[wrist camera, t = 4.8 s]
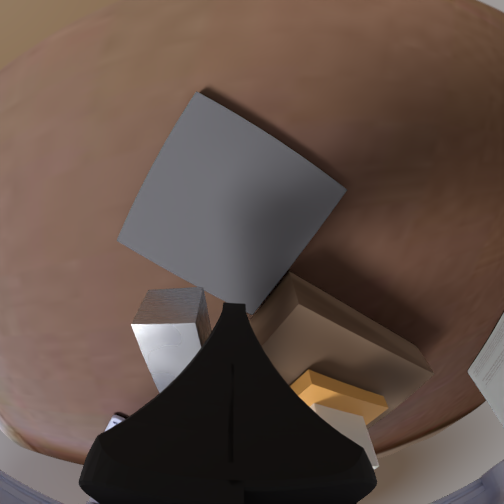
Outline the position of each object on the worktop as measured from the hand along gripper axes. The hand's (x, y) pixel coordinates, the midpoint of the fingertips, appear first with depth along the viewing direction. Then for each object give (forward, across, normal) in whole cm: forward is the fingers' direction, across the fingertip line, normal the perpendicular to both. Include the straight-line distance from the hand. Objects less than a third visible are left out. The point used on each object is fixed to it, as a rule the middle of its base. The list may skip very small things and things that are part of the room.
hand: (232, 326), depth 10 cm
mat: (+5, +1, -3) cm, 6 cm away
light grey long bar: (+2, +1, +5) cm, 6 cm away
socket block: (+5, -5, +8) cm, 11 cm away
